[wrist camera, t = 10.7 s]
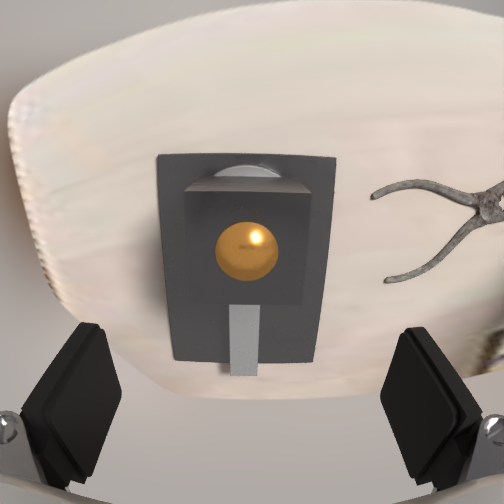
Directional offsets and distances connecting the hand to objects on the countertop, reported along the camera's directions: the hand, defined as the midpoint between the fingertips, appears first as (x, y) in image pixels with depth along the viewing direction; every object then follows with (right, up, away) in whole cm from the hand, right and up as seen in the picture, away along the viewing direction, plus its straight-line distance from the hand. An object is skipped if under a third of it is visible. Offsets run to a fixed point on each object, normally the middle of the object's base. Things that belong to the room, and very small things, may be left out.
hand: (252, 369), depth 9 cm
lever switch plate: (-1, +2, +19) cm, 19 cm away
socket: (0, +6, +15) cm, 16 cm away
